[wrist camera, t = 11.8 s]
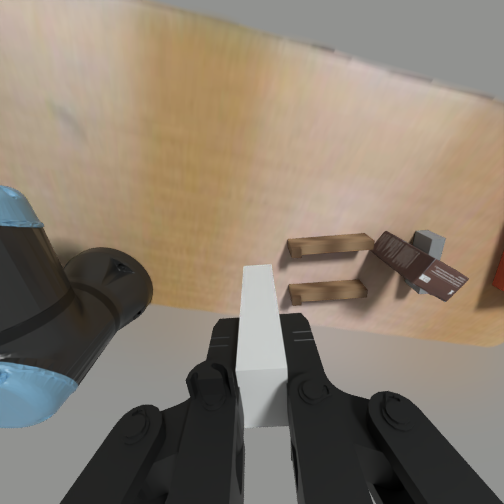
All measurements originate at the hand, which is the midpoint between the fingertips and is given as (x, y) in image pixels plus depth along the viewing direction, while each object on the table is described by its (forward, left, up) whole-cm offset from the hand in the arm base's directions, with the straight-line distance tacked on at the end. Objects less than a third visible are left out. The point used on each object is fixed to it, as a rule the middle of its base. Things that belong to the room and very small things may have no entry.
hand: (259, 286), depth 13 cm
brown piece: (+12, -13, -26) cm, 32 cm away
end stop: (+28, -13, -26) cm, 40 cm away
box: (+23, -11, -27) cm, 37 cm away
